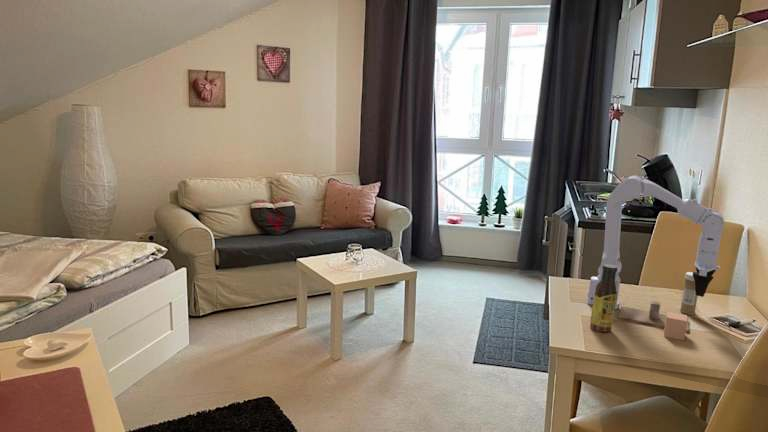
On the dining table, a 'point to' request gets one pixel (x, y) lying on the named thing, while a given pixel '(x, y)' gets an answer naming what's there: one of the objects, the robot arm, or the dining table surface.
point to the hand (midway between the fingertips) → (700, 292)
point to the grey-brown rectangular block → (646, 316)
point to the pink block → (675, 326)
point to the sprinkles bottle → (689, 295)
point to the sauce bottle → (604, 300)
